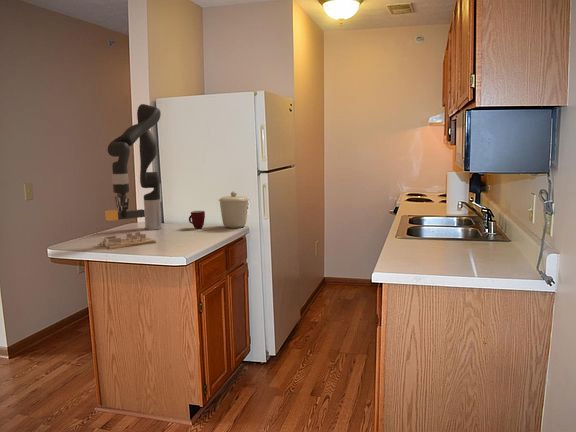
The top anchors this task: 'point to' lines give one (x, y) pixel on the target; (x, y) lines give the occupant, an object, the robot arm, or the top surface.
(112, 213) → the grey and orange bar
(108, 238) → the board
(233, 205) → the canister
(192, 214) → the mug
